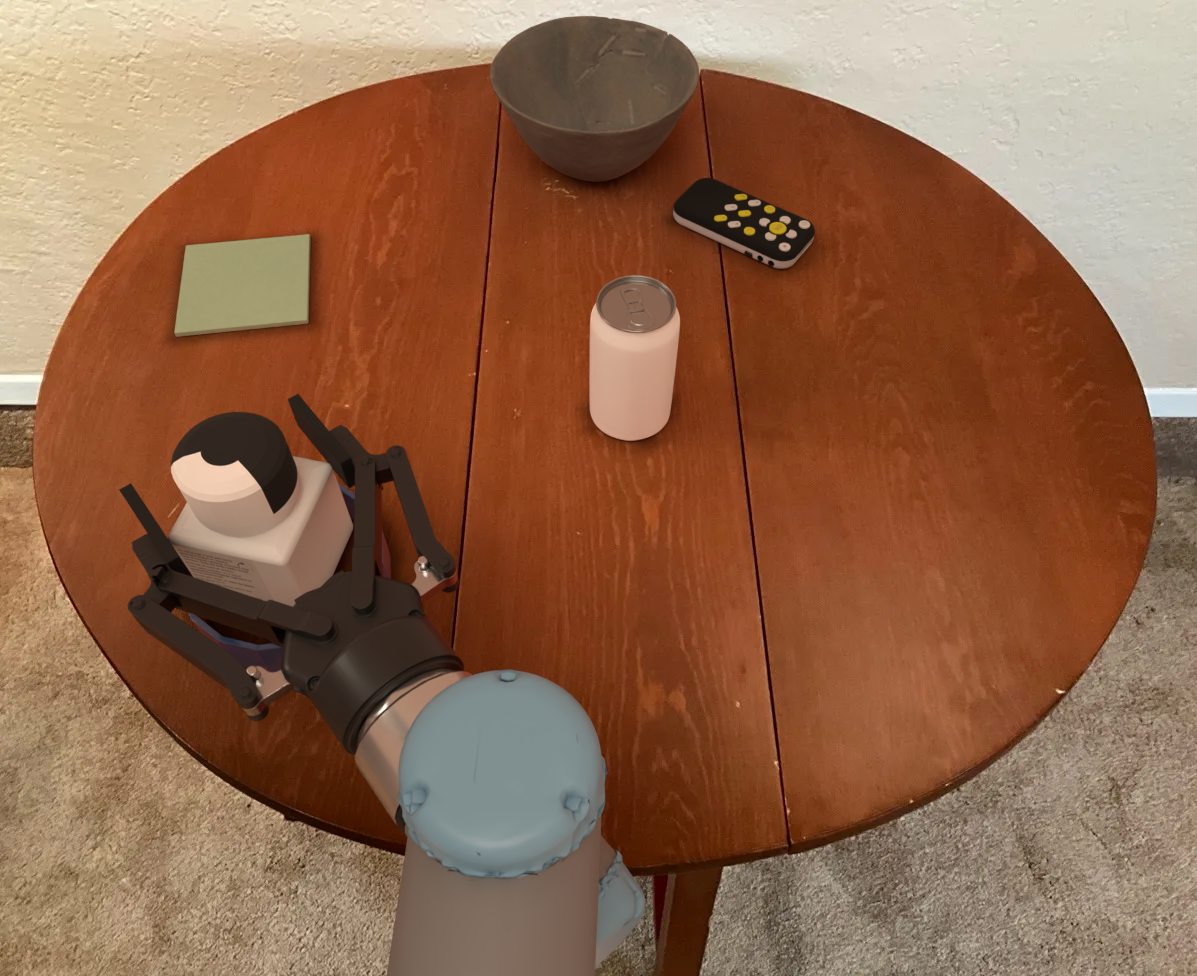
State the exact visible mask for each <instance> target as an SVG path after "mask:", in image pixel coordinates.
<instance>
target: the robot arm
mask: <svg viewBox="0 0 1197 976" xmlns="http://www.w3.org/2000/svg"><path fill="white" fill-rule="evenodd" d="M287 401H288V404H289V407H290V409H291V412H292V415H293V417H294V419H295V422H296V425H297V427H298V428H299V429H300V430H301V432H302V433H303V434H304V435H305V436H306V438H307V439H308V440H309V441H310V443H311V444H312V445H313V446H314V448H315V449H316V450H317V451H318V452H319V454H320V455H321V456H322V458H323V459H324V460H325V462H326V463H329V464H330V465H331V466H332V468H333V471H334V473H335V474H336V475H337V476H338V478H339V479H340V480H341V481H342V482H343V483H344V484H345V486H346V488H347V489H351V488H354V494H355V506H354V520H353V547H352V548H351V549H352V550H351V570H350V571H346V572H345V571H344V569H341V570H339V571H338V572H337V573H335V574H333V576H332V577H330V578H329V579H328V580H327V581H326V582H325V583H324V584H323V585H322V586H321V587H320V588H317V589H314V590H311V591H309V592H306V593H304V594H303V595H301V596H299V597H298V598H296V599H295V600H294V601H295V603H296V604H295V605H294V606H293V607H292V606H289V605H286V604H283V603H280V602H277V601H274V600H268V601H263V600H260V599H257V598H254V597H251V596H248V595H245V594H242V593H239V592H236V591H233V590H230V589H227V588H224V587H221V586H218V585H215V584H212V583H209V582H206V581H203V580H200V579H197V578H194V577H193V576H192V574H191V573H190V571H189V570H188V568H187V567H186V565H185V564H184V562H183V561H182V559H181V558H180V556H179V555H178V553H177V552H176V550H175V549H174V547H173V546H172V544H171V543H170V541H169V540H168V536H167V535H166V534H165V532H164V530H163V529H162V527H161V525H160V524H159V523H158V522H157V520H156V518H155V517H154V515H153V514H152V513H151V511H150V510H149V508H148V506H147V505H146V503H145V502H144V500H143V499H142V497H141V496H140V494H139V493H138V491H137V490H136V488H135V487H134V485H133V484H132V483H131V482H130V483H129V484H127V485H125V486H123V487H121V488H120V489H118V490H119V492H120V493H121V495H122V497H123V498H124V500H125V501H126V503H127V505H128V506H129V507H130V509H131V510H132V512H133V514H134V515H135V517H136V518H137V520H138V521H139V523H140V524H141V526H142V527H143V529H144V530H145V532H146V533H145V534H143V535H141V536H140V537H138V538H136V539H134V540H132V541H131V551H133V553H134V555H135V556H136V557H137V559H138V561H139V562H140V564H141V566H142V567H143V569H144V570H145V572H146V573H147V576H148V578H149V579H150V585H149V586H148V588H147V590H146V591H145V592H144V593H143V594H138V595H135V596H134V597H132V598H130V600H129V601H128V603H127V610H128V611H129V613H130V614H131V615H132V616H133V618H134V619H135V620H136V622H137V623H138V624H139V626H140V627H141V628H142V629H143V630H144V631H145V632H146V633H147V634H149V635H150V636H152V637H153V638H154V639H156V640H157V641H158V642H159V643H161V644H163V645H164V646H166V647H167V648H168V649H170V650H171V651H173V652H174V653H176V654H177V655H178V656H179V657H181V658H183V659H184V660H185V661H187V662H188V663H190V664H191V665H192V666H194V667H196V669H198V670H200V671H201V672H203V673H204V674H205V675H207V676H208V677H210V678H211V679H212V680H214V681H215V682H217V683H218V684H220V685H221V686H222V687H224V688H225V689H226V690H228V691H229V693H230V694H231V696H232V697H233V699H234V701H235V702H236V703H237V705H238V706H239V707H240V708H241V710H242V711H243V713H244V714H245V715H246V717H247V718H248V719H249V720H250V721H253V722H260V721H263V720H264V719H265V718H267V717H268V715H269V713H270V705H272V704H273V703H275V702H276V701H278V700H280V699H281V698H283V697H284V696H286V695H288V694H289V693H291V692H292V691H294V692H297V693H299V694H301V695H303V696H305V697H307V698H308V699H309V700H310V701H311V703H312V704H313V706H314V708H316V710H317V711H318V713H319V715H320V716H321V717H322V719H323V720H324V722H325V723H326V724H327V726H328V728H329V729H330V730H331V732H332V733H333V735H334V736H335V738H336V739H337V741H338V742H339V743H340V745H341V747H342V748H343V749H344V750H345V752H347V754H350V755H353V756H354V764H355V766H356V768H357V769H358V771H359V773H360V774H361V775H362V777H363V778H364V779H365V781H366V782H367V784H368V785H369V787H370V789H371V790H372V791H373V793H374V795H375V796H376V797H377V799H378V800H379V802H380V803H381V805H382V806H383V808H384V809H385V811H386V812H387V814H388V815H389V816H390V818H391V820H392V821H393V822H394V824H395V825H397V827H398V828H399V830H400V831H401V832H402V834H403V835H404V836H405V837H406V844H405V845H406V846H405V851H404V858H403V863H402V871H401V877H400V883H399V884H400V885H399V891H398V897H397V904H396V911H395V917H394V924H393V931H392V937H391V944H390V951H389V956H388V957H389V958H388V964H387V970H386V976H596V968H597V967H598V966H599V965H600V964H601V963H602V962H603V961H604V960H605V959H606V958H608V956H610V955H611V954H612V953H613V952H614V951H615V950H616V949H617V948H618V947H619V946H620V945H621V944H622V943H623V942H624V940H625V939H626V938H627V937H628V936H629V935H630V934H631V933H632V931H633V930H634V929H635V927H636V926H637V925H638V924H639V922H640V921H641V919H642V917H643V915H644V912H645V909H646V896H645V893H644V891H643V889H642V888H641V886H640V885H639V883H638V882H637V880H636V879H635V878H634V876H633V875H632V873H631V872H630V871H629V869H628V868H627V866H626V864H625V863H624V861H623V855H622V854H621V852H619V850H617V848H613V847H611V845H610V844H609V843H608V841H606V839H605V838H604V837H603V836H602V814H603V813H604V810H605V806H606V780H607V775H608V769H607V763H606V759H605V757H603V756H602V749H601V744H600V740H599V737H598V733H597V731H596V728H595V726H594V723H593V721H592V719H591V718H590V716H589V715H588V713H587V712H586V710H585V709H584V707H582V706H583V705H581V704H580V702H579V701H578V700H577V699H576V698H575V697H574V696H573V695H572V694H571V693H570V692H568V691H567V690H566V689H565V688H563V687H562V686H560V685H559V684H557V683H556V682H553V681H552V680H550V679H548V678H545V677H543V676H541V675H538V674H536V673H535V674H534V673H531V672H528V671H520V670H515V669H511V668H510V669H509V668H508V669H499V670H497V669H495V670H488V671H487V670H486V671H482V672H478V673H475V674H473V673H471V672H469V671H465V664H464V662H463V660H462V659H461V657H460V656H459V655H458V653H456V651H455V650H454V649H453V648H452V646H451V645H450V644H449V642H448V641H447V640H446V639H445V637H444V636H443V635H442V633H440V631H439V629H438V628H437V627H436V626H435V625H434V624H433V621H431V620H430V619H429V617H428V616H427V615H426V613H425V611H424V604H425V603H426V602H428V601H429V600H430V599H432V598H433V597H434V596H436V595H437V594H439V593H440V592H443V593H446V594H451V593H454V592H456V591H457V590H458V588H459V586H460V580H459V574H458V571H457V570H458V569H457V565H456V561H455V558H454V557H453V556H452V555H451V554H450V553H449V551H448V550H447V548H445V547H444V546H443V545H442V544H441V542H440V541H439V540H438V539H437V538H436V535H435V533H434V530H433V527H432V523H431V520H430V517H429V514H428V512H427V508H426V506H425V503H424V501H423V497H422V495H421V491H420V488H419V486H418V482H417V479H416V477H415V474H414V471H413V469H412V466H411V462H410V459H409V456H408V454H407V451H406V449H405V448H404V446H402V445H398V444H397V445H395V444H394V445H392V446H389V447H388V448H387V449H386V452H383V453H380V454H373V453H370V452H368V450H366V448H365V447H364V446H363V445H362V443H360V441H359V440H358V439H357V437H355V436H354V434H353V433H352V432H351V431H350V430H349V428H348V427H346V426H344V425H342V424H339V425H337V426H335V427H334V428H332V429H330V430H329V429H328V428H327V426H326V425H325V424H324V423H323V422H322V420H321V419H320V418H319V417H318V415H317V414H316V413H315V412H314V411H313V409H311V407H310V406H309V405H308V404H307V403H306V401H305V400H304V399H303V397H302V396H301V395H300V394H299V393H296V394H294V395H292V396H290V397H289V398H287ZM390 482H393V484H394V488H395V490H396V493H397V497H398V500H399V502H400V505H401V509H402V512H403V515H404V518H405V521H406V524H407V527H408V530H409V534H410V536H411V539H412V542H413V545H414V546H413V547H414V549H415V551H416V554H417V555H416V556H417V560H416V561H415V562H414V563H413V564H414V565H413V571H414V575H415V579H414V581H413V582H412V583H409V582H406V581H401V580H397V579H394V578H391V579H390V578H386V577H383V569H382V531H383V509H382V508H383V499H382V498H383V496H382V495H383V494H382V491H383V490H384V486H383V485H384V484H386V483H390ZM175 609H176V610H180V611H183V612H185V613H187V614H188V613H191V614H194V615H197V616H200V617H203V618H205V620H209V621H212V622H214V623H218V624H221V625H223V626H227V627H229V628H232V629H235V630H239V631H241V632H244V633H247V634H250V635H253V636H256V637H260V638H262V639H265V640H267V641H268V642H270V643H273V644H274V645H276V646H279V647H282V648H283V653H282V660H281V670H279V671H277V672H268V671H266V670H265V669H264V668H263V667H261V666H249V667H248V668H247V667H244V666H243V665H242V664H241V662H240V661H239V660H238V659H237V658H236V657H234V656H233V655H232V654H230V653H229V652H228V651H226V650H225V649H223V648H222V647H220V646H219V645H217V644H216V643H214V642H213V641H212V640H210V639H209V638H207V637H206V636H204V635H203V634H201V633H200V631H199V630H198V629H197V628H196V629H195V627H193V626H191V625H190V624H189V623H187V622H185V621H184V620H183V619H181V618H180V617H178V616H177V615H175V614H174V613H172V612H173V611H174V610H175Z"/></svg>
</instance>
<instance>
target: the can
mask: <svg viewBox="0 0 1197 976" xmlns="http://www.w3.org/2000/svg"><path fill="white" fill-rule="evenodd" d="M680 316H681V315H680V312H679V309H678V307H677V300H676V297H675V294H674V292H673V291H672V290H671V288H669V287H668V285H666V284H665V283H663V282H662V281H661V280H659V279H656V278H653V277H650V276H647V275H640V274H629V275H624V276H623V275H622V276H619V277H617V278H614V279H612V280H610V281H609V282H607V283H606V284H604V285H603V286H602V287H601V288H600V290H599V292H598V294H597V296H596V300H595V303H594V305H593V307H592V309H591V313H590V321H589V413H590V417H591V420H592V422H593V423H594V425H595V426H596V428H598V429H599V430H600V431H601V432H603V434H606V435H607V436H609V437H611V438H615V439H618V440H621V441H629V442H632V441H640V440H644V439H647V438H649V437H652V436H654V435H656V434H657V433H659V432H660V431H661V430H662V429H663V428H664V427H665V426H666V425H667V423H668V422H669V419H670V416H671V409H672V401H673V393H674V385H675V377H676V368H677V359H678V350H679V341H680V330H681V317H680Z"/></svg>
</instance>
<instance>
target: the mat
mask: <svg viewBox="0 0 1197 976" xmlns="http://www.w3.org/2000/svg"><path fill="white" fill-rule="evenodd" d="M311 238H312V237H311V234H309V233H304V234H295V235H283V236H273V237H262V238H253V239H252V238H251V239H240V240H239V239H238V240H229V241H228V240H227V241H220V242H209V243H198V244H187V245H185V250H184V256H183V265H182V272H181V278H180V279H181V280H180V285H179V286H180V287H179V295H178V303H177V310H176V317H175V324H174V335H175V337H176V338H179V337H187V336H190V337H191V336H199V335H208V334H219V333H220V334H221V333H228V332H229V333H230V332H237V331H238V332H239V331H247V330H248V331H249V330H257V329H258V330H259V329H269V328H278V327H279V328H280V327H289V326H299V325H308V324H309V322H310V321H309V319H310V283H311V282H310V281H311V279H310V277H311V244H312V243H311V242H312V241H311V240H312V239H311Z"/></svg>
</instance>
